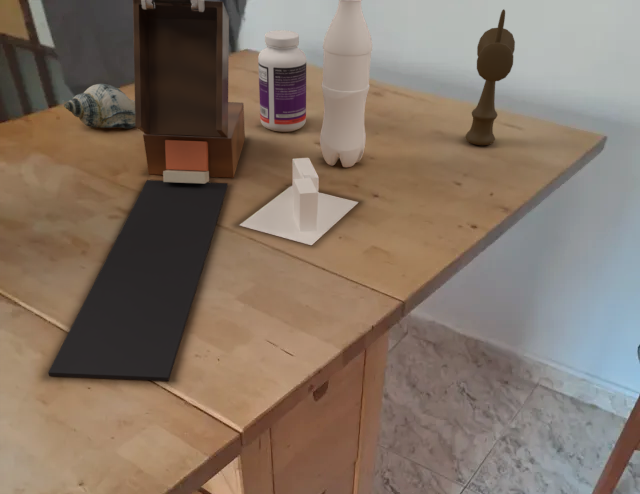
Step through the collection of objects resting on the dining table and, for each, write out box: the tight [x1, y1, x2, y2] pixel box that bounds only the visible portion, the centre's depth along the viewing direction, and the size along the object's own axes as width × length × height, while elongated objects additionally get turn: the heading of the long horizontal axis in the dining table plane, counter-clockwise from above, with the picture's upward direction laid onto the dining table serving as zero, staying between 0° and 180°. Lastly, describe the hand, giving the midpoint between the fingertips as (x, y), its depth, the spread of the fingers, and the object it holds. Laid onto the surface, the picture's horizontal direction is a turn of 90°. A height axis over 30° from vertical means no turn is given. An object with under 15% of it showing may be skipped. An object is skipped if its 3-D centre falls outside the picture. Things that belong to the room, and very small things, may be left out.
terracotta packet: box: [165, 140, 208, 171], centre depth 101 cm, size 4×6×2 cm
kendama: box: [465, 8, 516, 146], centre depth 111 cm, size 6×10×20 cm, turn 168°
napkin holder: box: [239, 157, 359, 246], centre depth 94 cm, size 15×11×6 cm
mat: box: [47, 179, 229, 382], centre depth 85 cm, size 46×12×1 cm, turn 178°
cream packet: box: [162, 169, 210, 184], centre depth 101 cm, size 4×6×2 cm, turn 88°
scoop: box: [132, 0, 230, 138], centre depth 94 cm, size 16×12×9 cm
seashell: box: [63, 83, 136, 130], centre depth 117 cm, size 6×8×12 cm
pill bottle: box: [257, 29, 307, 133], centre depth 116 cm, size 8×8×14 cm
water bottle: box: [319, 0, 373, 168], centre depth 102 cm, size 7×7×25 cm
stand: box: [142, 101, 246, 178], centre depth 108 cm, size 16×13×6 cm
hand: (174, 9), depth 89 cm, fingers closed on scoop, 5 cm apart
